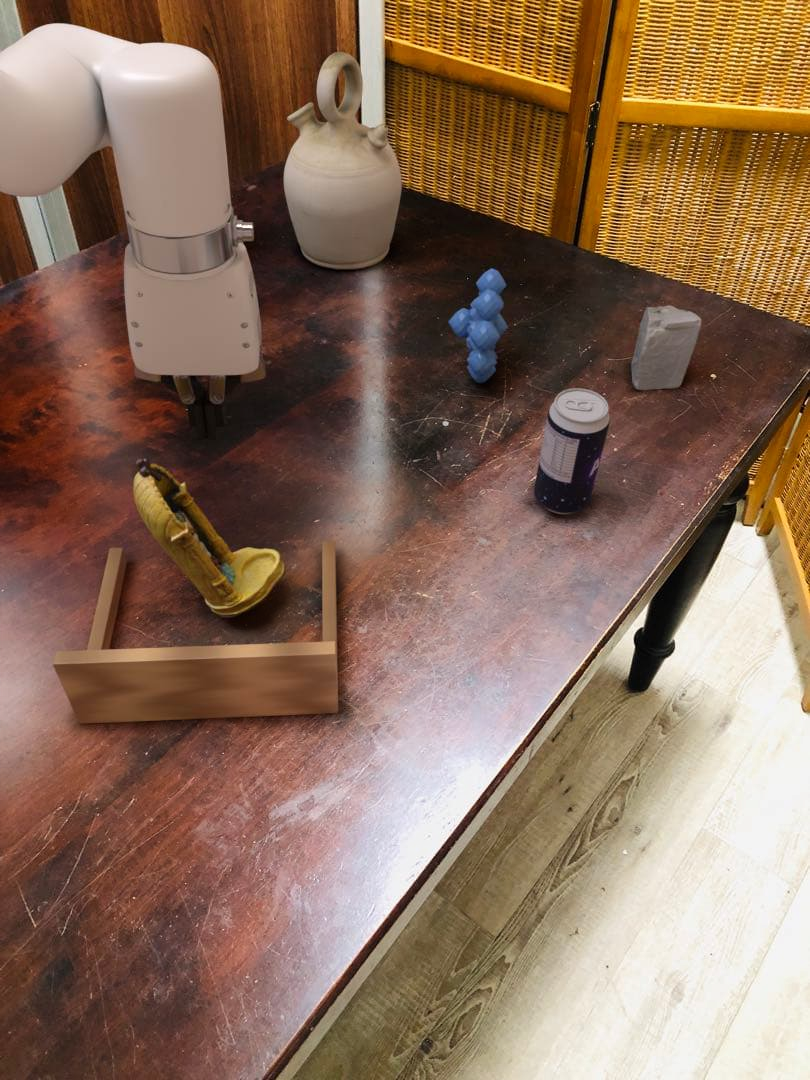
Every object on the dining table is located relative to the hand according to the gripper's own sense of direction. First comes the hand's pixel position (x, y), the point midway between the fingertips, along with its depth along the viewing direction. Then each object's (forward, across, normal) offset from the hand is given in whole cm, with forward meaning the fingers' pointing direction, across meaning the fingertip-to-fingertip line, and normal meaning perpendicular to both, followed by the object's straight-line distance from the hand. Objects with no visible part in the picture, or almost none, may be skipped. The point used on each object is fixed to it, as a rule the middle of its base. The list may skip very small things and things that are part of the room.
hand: (209, 430), depth 78 cm
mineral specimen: (+10, -49, -22) cm, 54 cm away
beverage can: (+10, -34, -1) cm, 35 cm away
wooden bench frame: (+11, -1, +14) cm, 17 cm away
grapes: (+10, -28, -24) cm, 38 cm away
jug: (+11, -13, -52) cm, 55 cm away
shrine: (+11, -1, +10) cm, 15 cm away
